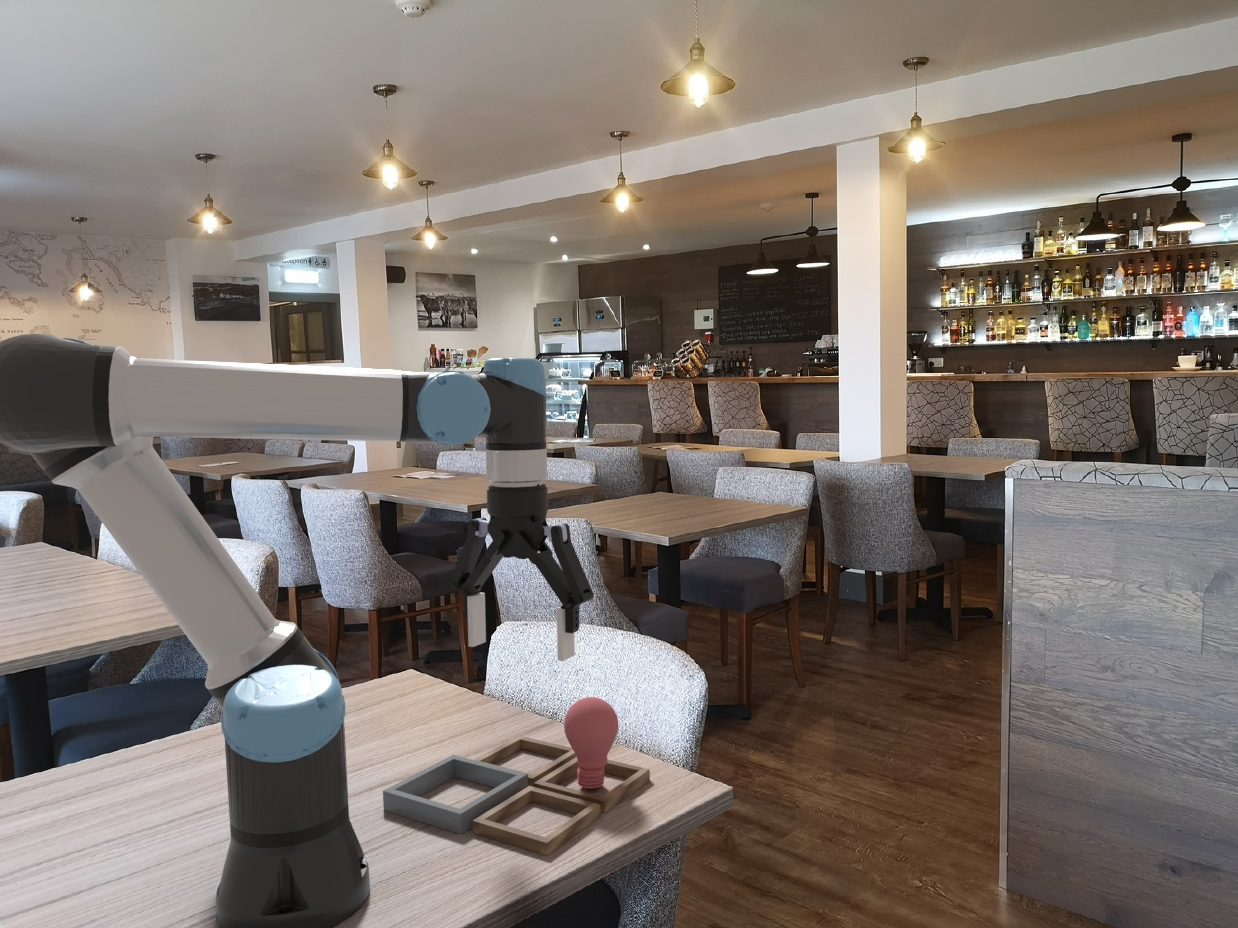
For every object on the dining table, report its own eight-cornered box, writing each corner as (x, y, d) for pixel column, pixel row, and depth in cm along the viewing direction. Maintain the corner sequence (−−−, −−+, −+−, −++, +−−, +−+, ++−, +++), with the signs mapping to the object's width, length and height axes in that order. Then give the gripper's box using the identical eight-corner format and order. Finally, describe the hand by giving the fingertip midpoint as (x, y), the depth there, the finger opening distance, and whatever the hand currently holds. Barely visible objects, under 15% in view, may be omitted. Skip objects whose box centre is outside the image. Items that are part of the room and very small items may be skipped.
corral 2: (533, 789, 122) (532, 778, 122) (469, 772, 128) (469, 761, 128) (580, 759, 132) (580, 749, 131) (519, 745, 137) (518, 735, 137)
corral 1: (461, 834, 111) (460, 813, 110) (383, 809, 117) (382, 790, 117) (528, 792, 121) (527, 773, 121) (453, 772, 128) (453, 754, 128)
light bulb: (622, 776, 126) (620, 689, 125) (616, 799, 119) (614, 708, 118) (570, 775, 127) (567, 689, 126) (562, 798, 119) (559, 707, 118)
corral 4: (604, 812, 115) (604, 801, 115) (534, 793, 121) (534, 782, 121) (649, 779, 124) (649, 769, 124) (582, 763, 130) (581, 753, 130)
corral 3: (547, 855, 105) (546, 842, 105) (473, 832, 111) (472, 820, 111) (600, 816, 114) (600, 804, 114) (529, 796, 120) (529, 785, 120)
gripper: (619, 484, 112) (621, 655, 114) (457, 476, 124) (461, 632, 126) (587, 490, 106) (590, 672, 107) (419, 482, 118) (424, 645, 120)
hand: (520, 651), depth 117 cm, fingers open, 13 cm apart
